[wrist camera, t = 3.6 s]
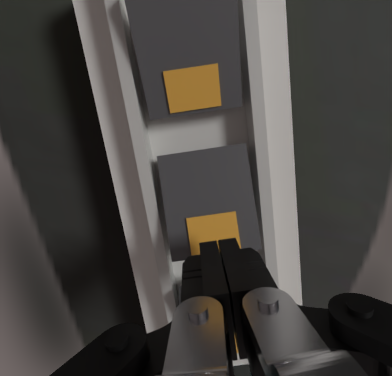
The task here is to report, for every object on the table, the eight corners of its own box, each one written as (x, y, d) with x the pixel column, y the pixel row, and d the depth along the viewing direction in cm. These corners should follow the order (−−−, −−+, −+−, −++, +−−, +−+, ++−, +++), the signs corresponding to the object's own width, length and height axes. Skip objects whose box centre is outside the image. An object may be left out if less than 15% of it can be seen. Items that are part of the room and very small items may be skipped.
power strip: (90, -6, 15) (45, -66, 10) (260, -32, 15) (294, -105, 10) (161, 335, 21) (153, 399, 16) (286, 318, 21) (315, 377, 16)
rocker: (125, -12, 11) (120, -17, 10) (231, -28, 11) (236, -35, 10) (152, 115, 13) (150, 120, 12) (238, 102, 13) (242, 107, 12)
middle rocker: (159, 158, 14) (156, 155, 13) (242, 146, 14) (246, 142, 13) (173, 257, 14) (171, 262, 13) (257, 245, 14) (262, 249, 13)
